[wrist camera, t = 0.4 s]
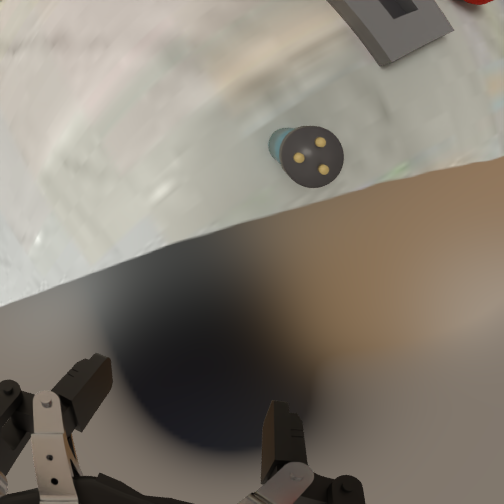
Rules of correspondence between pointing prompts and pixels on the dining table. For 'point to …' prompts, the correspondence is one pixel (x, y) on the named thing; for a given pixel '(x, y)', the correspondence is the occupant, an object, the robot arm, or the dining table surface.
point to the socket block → (393, 25)
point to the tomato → (478, 1)
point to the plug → (307, 154)
